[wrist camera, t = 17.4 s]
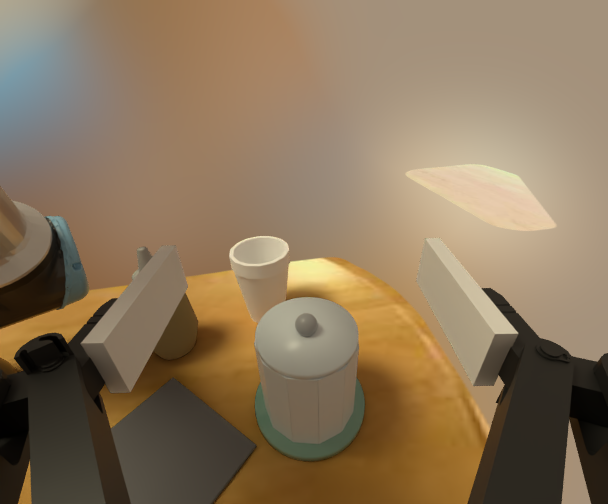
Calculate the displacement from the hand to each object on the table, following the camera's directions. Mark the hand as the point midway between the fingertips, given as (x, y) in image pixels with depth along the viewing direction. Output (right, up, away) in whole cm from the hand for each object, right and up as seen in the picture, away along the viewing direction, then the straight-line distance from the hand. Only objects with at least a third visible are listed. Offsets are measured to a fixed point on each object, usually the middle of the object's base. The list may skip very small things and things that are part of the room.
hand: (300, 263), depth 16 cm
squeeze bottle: (-20, -15, +32) cm, 40 cm away
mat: (-16, -23, +17) cm, 33 cm away
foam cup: (-6, -10, +38) cm, 40 cm away
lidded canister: (+1, -18, +22) cm, 28 cm away
